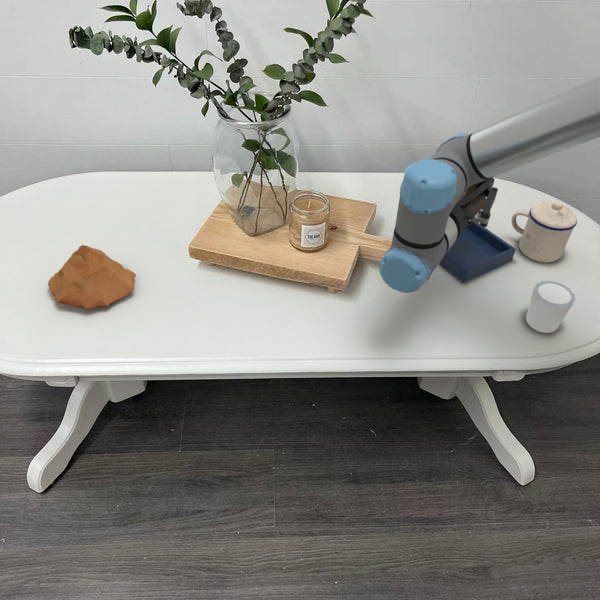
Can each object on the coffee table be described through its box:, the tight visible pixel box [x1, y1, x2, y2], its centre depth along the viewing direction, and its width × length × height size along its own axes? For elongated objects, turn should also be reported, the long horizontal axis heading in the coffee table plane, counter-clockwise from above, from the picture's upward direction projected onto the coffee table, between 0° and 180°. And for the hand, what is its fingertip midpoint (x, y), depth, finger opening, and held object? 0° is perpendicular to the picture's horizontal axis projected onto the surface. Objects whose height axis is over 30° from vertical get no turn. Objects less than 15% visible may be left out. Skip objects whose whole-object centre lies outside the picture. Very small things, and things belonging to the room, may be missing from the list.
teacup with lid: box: [511, 200, 578, 263], centre depth 116 cm, size 12×9×12 cm
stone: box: [47, 244, 137, 310], centre depth 106 cm, size 15×15×10 cm
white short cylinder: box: [525, 280, 576, 334], centre depth 101 cm, size 7×7×7 cm
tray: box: [438, 222, 517, 284], centre depth 118 cm, size 18×14×3 cm
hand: (484, 169), depth 111 cm, fingers closed on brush, 3 cm apart
